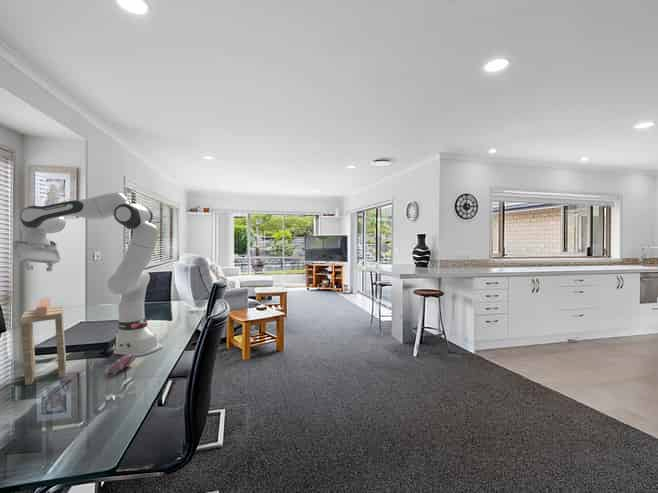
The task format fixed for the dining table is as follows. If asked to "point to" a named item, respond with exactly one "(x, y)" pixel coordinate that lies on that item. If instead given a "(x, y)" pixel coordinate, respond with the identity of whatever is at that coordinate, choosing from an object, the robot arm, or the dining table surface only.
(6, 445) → the dining table surface
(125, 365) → the video game controller
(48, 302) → the terracotta bar
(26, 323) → the wooden stand
